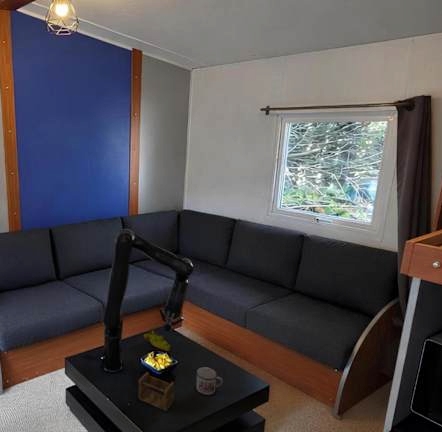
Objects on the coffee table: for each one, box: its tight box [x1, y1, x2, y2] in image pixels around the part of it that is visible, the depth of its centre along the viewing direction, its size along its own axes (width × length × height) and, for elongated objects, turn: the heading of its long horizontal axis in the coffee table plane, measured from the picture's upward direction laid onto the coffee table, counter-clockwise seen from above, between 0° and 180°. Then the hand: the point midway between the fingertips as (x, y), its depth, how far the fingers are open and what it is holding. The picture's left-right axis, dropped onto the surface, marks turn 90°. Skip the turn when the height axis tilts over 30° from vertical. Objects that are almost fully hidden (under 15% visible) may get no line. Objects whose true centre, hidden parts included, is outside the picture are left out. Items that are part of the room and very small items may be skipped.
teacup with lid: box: [195, 366, 223, 396], centre depth 190 cm, size 12×9×12 cm
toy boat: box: [143, 330, 171, 352], centre depth 228 cm, size 6×18×10 cm, turn 34°
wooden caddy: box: [137, 371, 176, 412], centre depth 183 cm, size 14×8×10 cm, turn 53°
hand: (166, 330), depth 198 cm, fingers closed
